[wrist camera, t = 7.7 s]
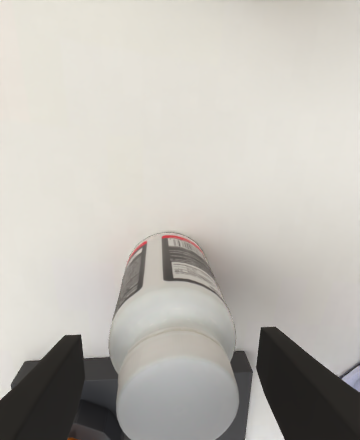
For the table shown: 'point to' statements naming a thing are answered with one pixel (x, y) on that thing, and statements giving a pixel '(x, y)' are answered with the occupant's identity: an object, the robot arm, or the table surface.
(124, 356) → the pill bottle
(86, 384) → the base
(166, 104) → the table surface
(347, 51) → the table surface
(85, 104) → the table surface
